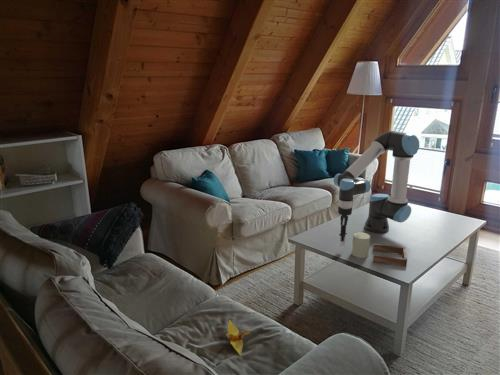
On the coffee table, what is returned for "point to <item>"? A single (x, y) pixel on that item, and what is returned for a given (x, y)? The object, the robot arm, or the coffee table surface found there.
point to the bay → (390, 259)
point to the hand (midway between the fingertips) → (342, 245)
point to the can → (360, 245)
